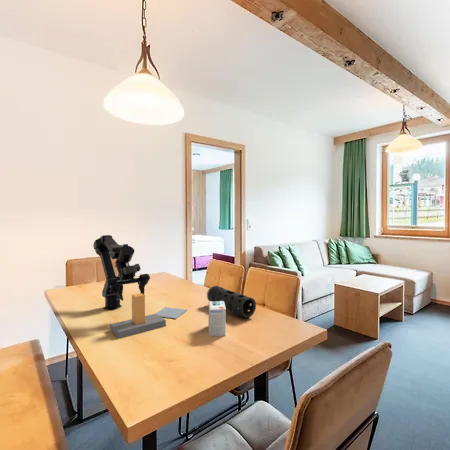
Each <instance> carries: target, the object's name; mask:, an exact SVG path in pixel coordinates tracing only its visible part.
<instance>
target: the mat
mask: <svg viewBox="0 0 450 450" xmlns="http://www.w3.org/2000/svg"><path fill="white" fill-rule="evenodd" d="M186 312H188V309H185V308H177V307H167V306H166V307H164V308H162V309H161V310H158V311H157V312H155V313H154V314H157V315H158V316H160V317H162V318H163V319H165V318H166V319H173V320H177V319H178V318H179V317H180V316H182V315H183V314H185V313H186Z"/></svg>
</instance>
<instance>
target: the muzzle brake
mask: <svg viewBox="0 0 450 450" xmlns="http://www.w3.org/2000/svg"><path fill="white" fill-rule="evenodd" d="M206 298H207V300H208V302H209V301H224V304H225V307H226V310H228V311H230V313H233V314H234V315H236V316H239V317H241V318H243V319H246V320H249V319H250V318H251V317H252V316H253V315H254V313H255V311H256V308H257V303H256V300H255V299H254V298H253V297H250V296H247V295H245V294H243V293H242V294H240V293H238V292H235V291H232V290H229V289H227V288H224V287H222V286H219V285H212V286H211V287H209V288H208V290H207V292H206Z"/></svg>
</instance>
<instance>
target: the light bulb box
mask: <svg viewBox="0 0 450 450" xmlns="http://www.w3.org/2000/svg"><path fill="white" fill-rule="evenodd" d="M226 310H227V309H226V307H225V304H224V301H209V300H208V337H216V336H217V337H218V336H219V337H222V336H223V337H225V336H226V332H227V331H226V321H227V320H226V316H227V311H226Z"/></svg>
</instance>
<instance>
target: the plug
mask: <svg viewBox="0 0 450 450" xmlns="http://www.w3.org/2000/svg"><path fill="white" fill-rule="evenodd" d="M145 297H146V295H145V294H144V295H143V294H142V293H141V292H140V293H139V292H138V293H135V294H131V319H132V323H133V324H135V325H138V324H142V323H145V316H146V302H145V301H146V298H145Z"/></svg>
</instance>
